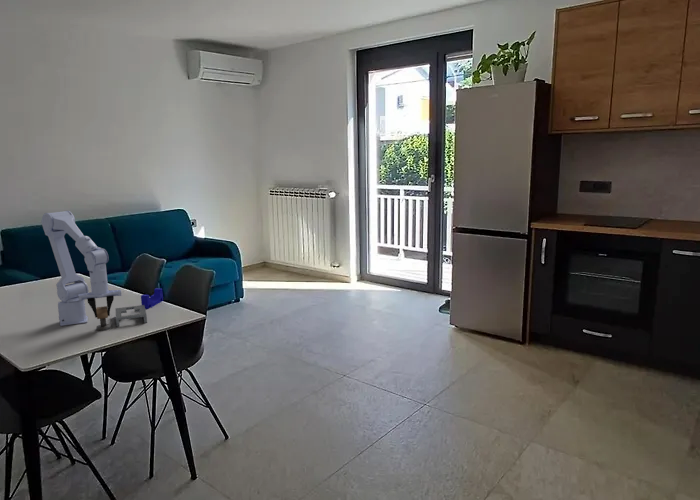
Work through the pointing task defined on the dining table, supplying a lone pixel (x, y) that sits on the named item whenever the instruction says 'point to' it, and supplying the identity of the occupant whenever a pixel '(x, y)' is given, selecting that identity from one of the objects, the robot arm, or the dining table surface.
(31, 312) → the dining table surface
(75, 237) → the robot arm
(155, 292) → the blue curved bracket
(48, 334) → the dining table surface
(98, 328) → the peg
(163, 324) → the dining table surface
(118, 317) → the notched window frame
